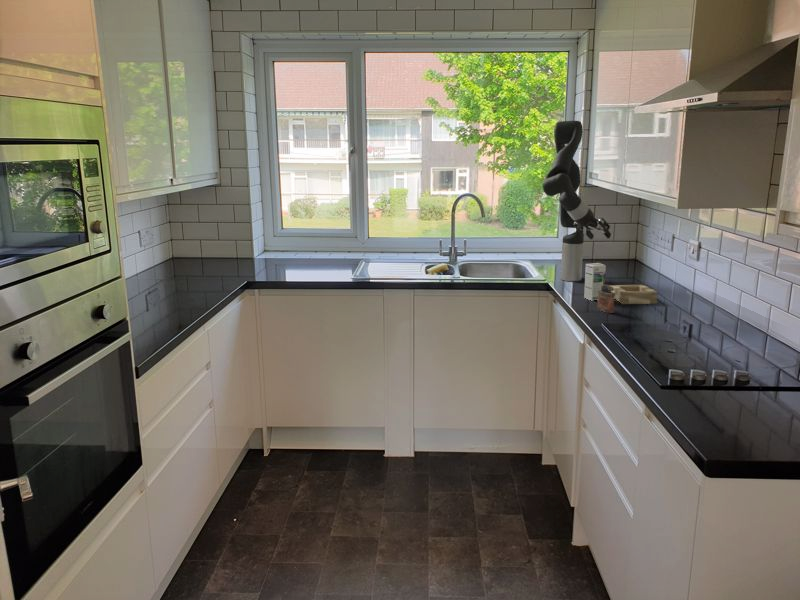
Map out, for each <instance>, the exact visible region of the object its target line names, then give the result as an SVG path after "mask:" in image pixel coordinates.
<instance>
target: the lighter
mask: <svg viewBox="0 0 800 600" xmlns="http://www.w3.org/2000/svg"><path fill="white" fill-rule="evenodd" d="M601 289H602V290H598V300H597V307H596V310H597V309H598V310H597V311H599V310H600V311H599V312H601V311H603V312H602V313H604V312H606V313H605V314H607V313H615V311H614V307H615V300H614V296H615V293H613V292H611V291H614V288H613V287H611V286H610V284H605V285H601Z"/></svg>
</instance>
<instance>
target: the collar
mask: <svg viewBox="0 0 800 600" xmlns="http://www.w3.org/2000/svg"><path fill="white" fill-rule="evenodd" d="M609 286H611V287H613V288H614V291H611V292H613V293H615V296H614V299H616V300H617V301H619V302H620V303H621V304H620V303H619V302H618V303H619V304H620V305H643V304H644V305H647V304H648V305H652V304H653V305H654V304H658V293H659V292H658V291H656V290H654V289H653V288H650V287H649V286H647V285H644V284H613V285H612V284H609ZM616 300H615V301H616ZM617 301H616V302H617Z"/></svg>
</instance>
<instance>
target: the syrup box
mask: <svg viewBox="0 0 800 600" xmlns="http://www.w3.org/2000/svg"><path fill="white" fill-rule="evenodd" d="M606 268H607V266H606V264H604V263H601V262H596V263H595V262H594V263H585V272H584V273H585V275H584V292H583V293H584V295H583V298H584V299H585V298H586V300H587V299H588V301H590V300H591V301H590V302H594V300H597V301H598V290H602V289H601V285H606Z"/></svg>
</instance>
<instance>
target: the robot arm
mask: <svg viewBox="0 0 800 600" xmlns="http://www.w3.org/2000/svg"><path fill="white" fill-rule="evenodd" d="M583 130H584V129H583V124H582V121H580V120H565V121H564V120H561V121H557V122H556V123H555V124H554V128H553V137H554V145H555V151H556V155H555V156H554V159H553V161H552V165H551V169H550V170H549V171H548V173H547V174H546V175H545V178H544V179H543V183H542V190H543V192H544V194H545V195H546V196H548V197H553V196H554V197H555V196H557V195H559V198H558V202H559V206H560V207H559V210H560V213H559V217H560V218H559V219H560V225H561V226H562V227H563V228H565V229H566V228H567V229H571V228H572V229H576V230H575V231H574V232H572V233H570V234H566V235H564V236H562V237H563V238H562V247H561V248H562V249H561V250H562V251H561V266H560V280H562V281H564V282H565V281H566V282H579V281H580V282H581V281H582V274H583V272H582V271H583V257H584V256H583V255H584V237H585V236H586V237H588V239H589V240H593V239H594V237H595V234H594V233H593V232H591V231H592V230H593V231H594V230H595V231H597V232H600V233H602V234H603V235H604V236H605V237H606V239H610V238H611V236H612V233H611V232H610V231H609V230H610V228H611V225H610V224H609V223H608V222H607V221H606V220H605V219H604V218H603V217H600V219H597V218H596V217H595V215H594V214H595V213H594V212H593V211H592V209H591V208H590V207H589V206H588V205H587V203H586V202H585V201H584V200H583V199H582V198H581V197H580V196H579V195H578V194H577V191H578V189H579V188H580V186H581V170H580V166H579V165H578V164H577V162H576V160H574V157H575V155H576V153H577V150H578V148H579V146H580V144H581V141H582V138H583V132H584V131H583Z"/></svg>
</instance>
